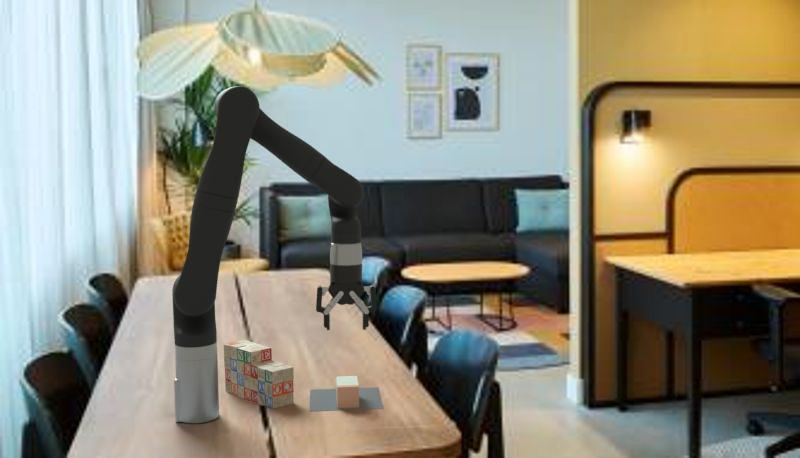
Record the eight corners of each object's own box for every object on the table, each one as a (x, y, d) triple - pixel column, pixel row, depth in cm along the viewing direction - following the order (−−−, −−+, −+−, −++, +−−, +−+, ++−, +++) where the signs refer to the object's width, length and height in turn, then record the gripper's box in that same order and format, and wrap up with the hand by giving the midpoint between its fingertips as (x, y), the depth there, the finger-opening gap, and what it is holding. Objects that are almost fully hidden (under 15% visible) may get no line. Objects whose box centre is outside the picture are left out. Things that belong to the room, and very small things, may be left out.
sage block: (336, 396, 204) (337, 408, 195) (336, 376, 204) (337, 387, 195) (357, 395, 205) (359, 407, 196) (357, 375, 204) (358, 386, 195)
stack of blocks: (294, 405, 200) (293, 354, 198) (272, 411, 196) (271, 359, 194) (246, 386, 216) (244, 338, 214) (224, 391, 211) (223, 343, 210)
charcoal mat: (309, 413, 193) (309, 411, 193) (310, 391, 210) (310, 389, 210) (383, 410, 195) (383, 408, 195) (378, 388, 212) (378, 387, 212)
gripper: (315, 264, 194) (316, 333, 196) (377, 263, 196) (377, 332, 197) (315, 259, 202) (316, 326, 203) (375, 259, 203) (375, 325, 205)
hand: (346, 329), depth 200 cm, fingers open, 8 cm apart
